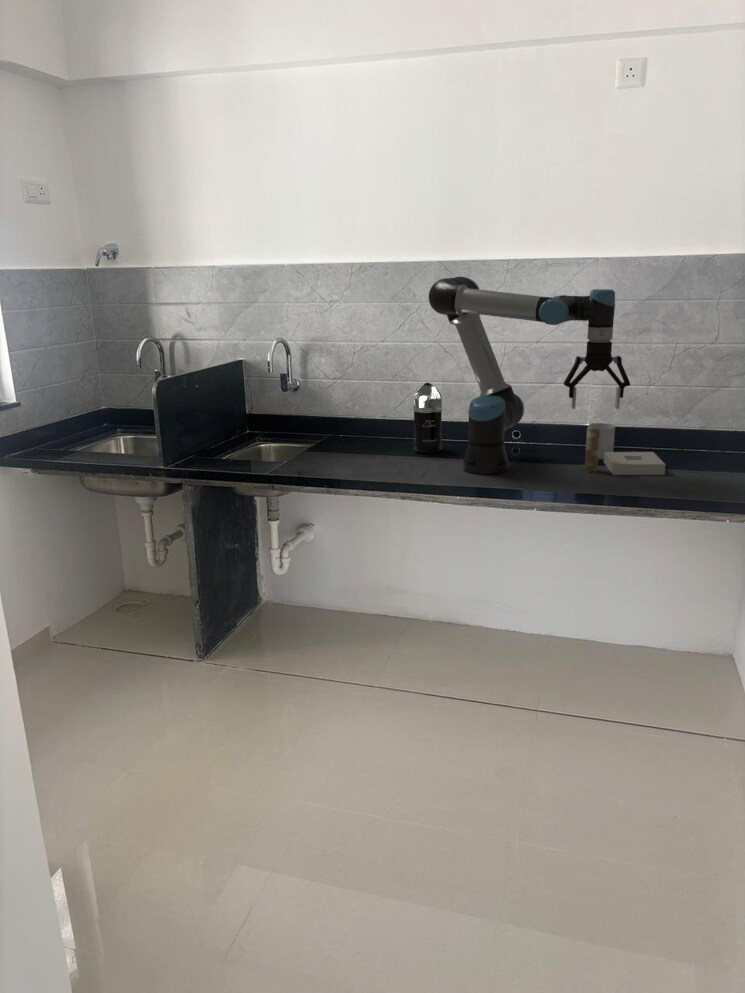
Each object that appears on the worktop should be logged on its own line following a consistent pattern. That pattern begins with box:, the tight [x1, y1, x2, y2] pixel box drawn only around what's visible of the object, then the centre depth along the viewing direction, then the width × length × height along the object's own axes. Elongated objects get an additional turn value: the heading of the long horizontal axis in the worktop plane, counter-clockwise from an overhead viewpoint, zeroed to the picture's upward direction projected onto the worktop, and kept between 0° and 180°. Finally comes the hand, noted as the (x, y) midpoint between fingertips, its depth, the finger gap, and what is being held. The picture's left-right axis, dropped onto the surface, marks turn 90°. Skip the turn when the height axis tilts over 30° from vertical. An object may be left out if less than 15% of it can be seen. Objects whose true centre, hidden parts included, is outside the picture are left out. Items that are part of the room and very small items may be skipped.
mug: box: [587, 422, 616, 461], centre depth 271 cm, size 12×9×11 cm
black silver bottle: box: [413, 382, 443, 454], centre depth 281 cm, size 10×10×25 cm
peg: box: [584, 427, 600, 473], centre depth 253 cm, size 4×4×14 cm
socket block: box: [603, 451, 666, 476], centre depth 256 cm, size 16×16×4 cm
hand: (595, 408), depth 249 cm, fingers open, 13 cm apart
